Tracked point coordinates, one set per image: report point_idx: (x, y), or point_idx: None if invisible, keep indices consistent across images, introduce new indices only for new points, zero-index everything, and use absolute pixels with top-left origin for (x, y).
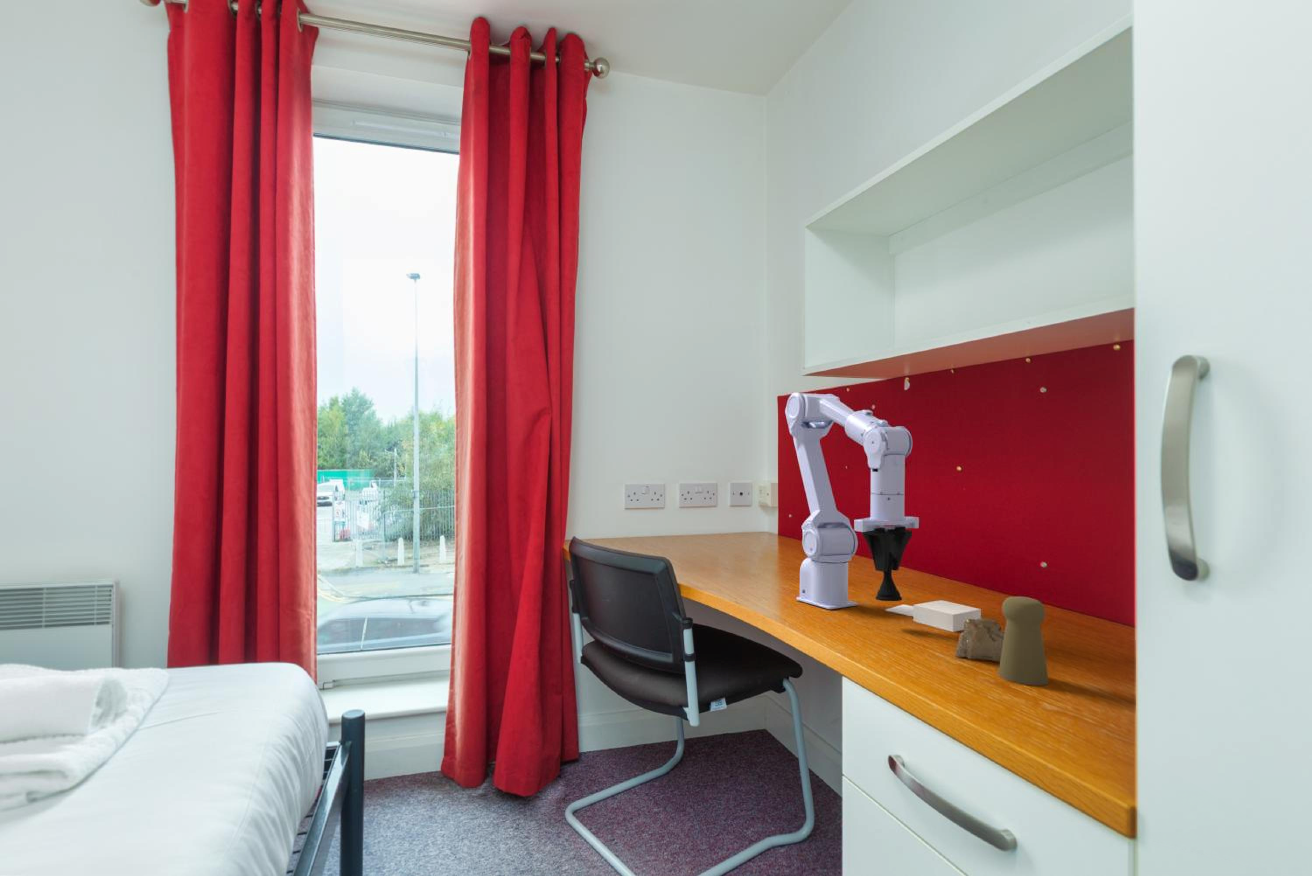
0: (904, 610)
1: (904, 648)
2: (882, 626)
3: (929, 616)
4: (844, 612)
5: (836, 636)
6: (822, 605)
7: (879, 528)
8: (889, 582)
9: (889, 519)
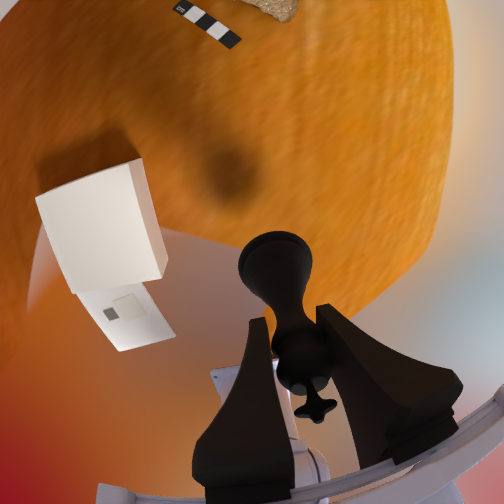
0: (140, 322)
1: (349, 97)
2: None
3: (152, 226)
4: None
5: (402, 212)
6: None
7: (434, 444)
8: (294, 283)
9: (449, 487)
